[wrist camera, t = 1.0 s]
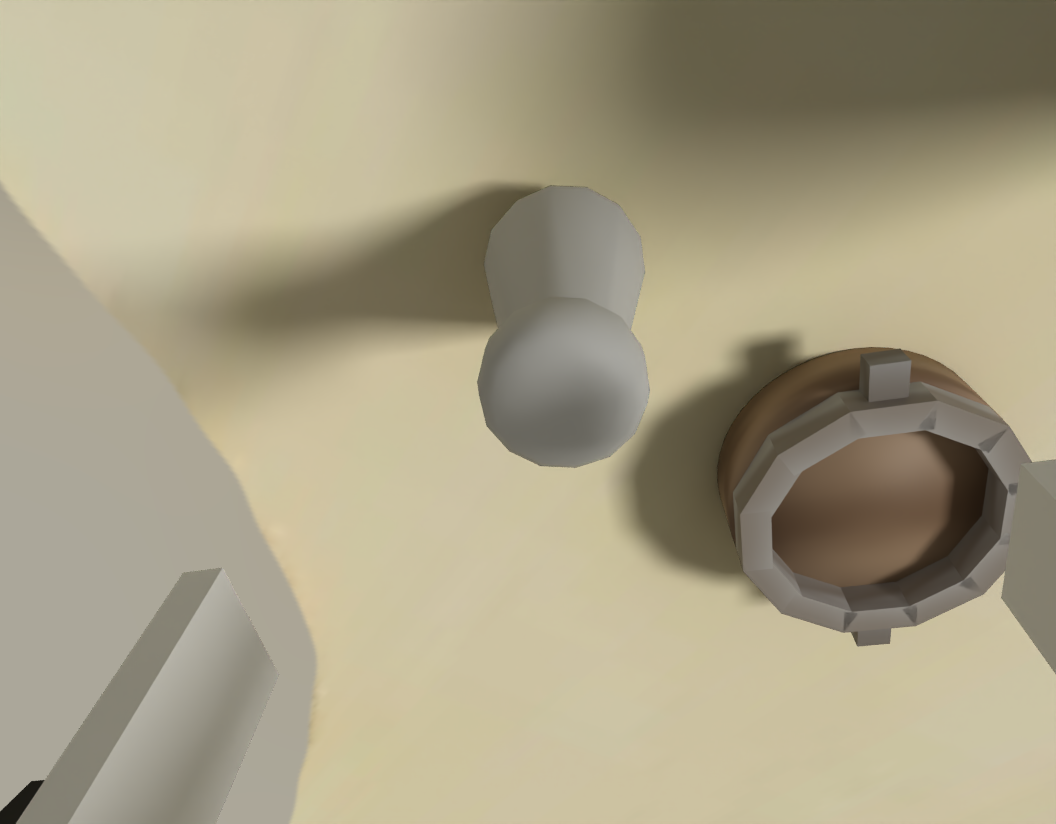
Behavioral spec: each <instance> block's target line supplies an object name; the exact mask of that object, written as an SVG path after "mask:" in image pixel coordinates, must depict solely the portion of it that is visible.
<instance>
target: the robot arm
mask: <svg viewBox="0 0 1056 824" xmlns="http://www.w3.org/2000/svg"><path fill="white" fill-rule="evenodd" d="M1001 598H1002V600H1003V601H1004V602H1005V604H1006V605H1007V607H1008V608H1009V609H1010V611H1011V612H1012V614H1013V615H1014V616H1015V618H1016V619H1017V621H1018V622H1019V623H1020V625H1021V626H1022V628H1023V629H1024V630H1025V632H1026V633H1027V634H1028V636H1029V637H1030V639H1031V640H1032V641H1033V643H1034V644H1035V646H1036V647H1037V648H1038V650H1039V651H1040V653H1041V654H1042V655H1043V657H1044V658H1045V660H1046V661H1047V662H1048V664H1049V665H1050V667H1051V668H1052V669H1053V671H1054V672H1055V674H1056V459H1055V460H1047V461H1039V462H1032V463H1024V464H1021V468H1020V475H1019V481H1018V488H1017V495H1016V502H1015V508H1014V515H1013V522H1012V529H1011V536H1010V542H1009V549H1008V556H1007V563H1006V569H1005V576H1004V583H1003V590H1002V596H1001ZM278 676H279V673H278V671H277V670H276V668H275V666H274V664H273V662H272V660H271V659H270V656H269V654H268V653H267V651H266V649H265V647H264V645H263V643H262V641H261V639H260V637H259V635H258V633H257V632H256V630H255V628H254V626H253V624H252V622H251V620H250V618H249V616H248V615H247V613H246V611H245V609H244V607H243V605H242V603H241V601H240V599H239V598H238V596H237V594H236V592H235V590H234V588H233V586H232V584H231V583H230V580H229V578H228V577H227V575H226V573H225V571H224V569H223V568H216V569H209V570H201V571H194V572H186V573H183V574H182V575H181V577H180V578H179V580H178V581H177V583H176V584H175V586H174V588H173V589H172V590H171V592H170V594H169V595H168V596H167V598H166V599H165V601H164V603H163V604H162V606H161V607H160V608H159V610H158V611H157V613H156V614H155V616H154V618H153V619H152V620H151V622H150V623H149V625H148V626H147V628H146V629H145V631H144V633H143V634H142V635H141V637H140V639H139V640H138V641H137V643H136V644H135V646H134V647H133V649H132V650H131V652H130V653H129V655H128V656H127V658H126V659H125V661H124V662H123V664H122V665H121V667H120V669H119V670H118V672H117V673H116V674H115V676H114V677H113V679H112V680H111V682H110V683H109V685H108V686H107V688H106V689H105V691H104V692H103V694H102V695H101V697H100V699H99V700H98V701H97V703H96V704H95V706H94V707H93V709H92V710H91V712H90V713H89V715H88V716H87V718H86V719H85V721H84V722H83V724H82V725H81V727H80V728H79V730H78V731H77V733H76V734H75V736H74V737H73V739H72V740H71V742H70V743H69V745H68V746H67V748H66V749H65V751H64V752H63V754H62V755H61V757H60V758H59V760H58V761H57V763H56V764H55V766H54V767H53V769H52V770H51V772H50V773H49V775H48V776H47V778H46V779H45V780H40V781H31V782H30V783H29V784H28V785H27V786H26V787H25V788H24V789H23V790H22V791H21V792H20V793H19V794H18V795H17V796H16V797H15V798H14V799H13V800H12V801H11V802H10V803H9V804H8V805H7V806H5V807H4V808H3V810H1V811H0V824H216V822H217V819H218V817H219V815H220V812H221V810H222V808H223V805H224V803H225V801H226V798H227V796H228V793H229V791H230V789H231V787H232V784H233V782H234V780H235V777H236V775H237V772H238V770H239V768H240V765H241V763H242V761H243V759H244V756H245V754H246V751H247V749H248V746H249V744H250V742H251V740H252V737H253V735H254V732H255V730H256V728H257V725H258V723H259V721H260V719H261V716H262V714H263V711H264V709H265V707H266V705H267V702H268V700H269V698H270V695H271V693H272V691H273V688H274V686H275V684H276V681H277V679H278Z"/></svg>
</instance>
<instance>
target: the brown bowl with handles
mask: <svg viewBox="0 0 1056 824" xmlns="http://www.w3.org/2000/svg"><path fill="white" fill-rule="evenodd" d="M1024 463H1032V461H1031V460H1030V458H1029V456H1028V455H1027V453H1026V452H1025V450H1024V449H1023V447H1022V445H1021V444H1020V442H1019V441H1018V439H1017V437H1016V436H1015V434H1014V433H1013V431H1012V429H1011V428H1010V426H1009V425H1008V424H1007V423H1006V422H1004V420H1003V419H1002V418H1001V417H1000V416H999V415H998V414H997V413H996V412H995V411H994V410H993V409H992V408H991V407H990V406H989V405H988V404H987V403H986V402H985V401H984V400H983V399H982V398H981V397H980V396H979V395H978V394H977V393H976V392H975V391H974V390H973V389H972V388H971V387H970V386H969V385H968V384H967V383H966V382H964V381H963V380H962V379H961V378H960V377H959V376H958V375H957V374H956V373H955V372H954V371H952V370H950V369H949V368H947V367H946V366H944V365H943V364H941V363H940V362H937V361H935V360H933V359H931V358H929V357H926V356H924V355H920V354H917V353H914V352H910V351H906V350H901V349H893V348H872V347H871V348H859V349H850V350H845V351H840V352H835V353H831V354H828V355H824V356H821V357H818V358H815V359H812V360H810V361H808V362H805V363H803V364H801V365H799V366H796V367H795V368H793V369H791V370H789V371H787V372H786V373H784V374H782V375H780V376H779V377H778V378H776V379H775V380H773V381H772V382H771V383H769V384H768V385H766V386H765V387H764V388H763V389H762V390H761V391H760V392H758V393H757V394H756V395H755V396H754V397H753V398H752V399H751V400H750V401H749V402H748V404H747V405H746V406H745V407H744V408H743V409H742V410H741V412H740V413H739V415H738V416H737V418H736V419H735V421H734V422H733V424H732V425H731V427H730V429H729V431H728V433H727V435H726V437H725V439H724V442H723V445H722V448H721V451H720V456H719V462H718V472H717V481H718V488H719V494H720V497H721V501H722V504H723V507H724V511H725V514H726V517H727V521H728V524H729V527H730V531H731V534H732V537H733V540H734V543H735V546H736V549H737V552H738V556H739V559H740V562H741V566H742V569H743V572H744V573H745V574H746V575H747V576H748V577H749V578H750V580H751V581H752V582H753V583H754V584H755V585H756V586H757V587H758V588H759V589H760V590H761V592H762V593H763V594H764V595H765V596H766V597H767V598H768V599H769V600H770V601H771V603H772V604H773V605H774V606H775V607H776V608H777V609H778V610H779V611H780V612H781V614H785V615H788V616H791V617H794V618H798V619H801V620H804V621H807V622H811V623H814V624H817V625H820V626H823V627H827V628H830V629H833V630H836V631H840V632H843V633H845V632H851V633H852V635H853V638H854V640H855V642H856V644H857V646H868V645H879V644H890V636H891V628H900V627H910V626H917V625H919V624H921V623H923V622H925V621H927V620H930V619H932V618H934V617H936V616H938V615H940V614H942V613H945V612H947V611H949V610H951V609H953V608H955V607H957V606H959V605H962V604H964V603H966V602H968V601H970V600H972V599H974V598H977V597H979V596H981V595H983V594H984V593H985V592H986V591H987V590H988V589H989V588H990V587H991V586H992V585H993V583H994V582H995V581H996V580H997V579H998V578H999V577H1000V576H1001V575H1002V574H1003V573H1004V571H1005V569H1006V563H1007V556H1008V549H1009V542H1010V536H1011V529H1012V522H1013V515H1014V508H1015V502H1016V495H1017V488H1018V481H1019V475H1020V468H1021V464H1024Z"/></svg>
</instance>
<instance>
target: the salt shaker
mask: <svg viewBox="0 0 1056 824" xmlns="http://www.w3.org/2000/svg"><path fill="white" fill-rule="evenodd" d="M484 267H485V272H486V277H487V282H488V287H489V291H490V296H491V301H492V305H493V309H494V313H495V317H496V322H497V326H498V329H497V330H496V331H495V332H494V334H493V335H492V336H491V337H490V338H489V340H488V343H487V345H486V348H485V352H484V356H483V360H482V364H481V368H480V373H479V377H478V381H477V384H478V391H479V396H480V401H481V405H482V409H483V413H484V417H485V421H486V425H487V427H488V428H489V429H490V430H491V431H492V432H493V434H494V435H495V436H496V437H497V438H498V439H499V440H500V441H501V442H502V444H503V445H504V446H505V447H506V448H507V449H508V450H509V451H510V452H512V453H514V454H516V455H519V456H521V457H523V458H525V459H527V460H529V461H531V462H533V463H535V464H537V465H540V466H551V467H574V468H577V467H580V466H583V465H586V464H589V463H592V462H595V461H598V460H601V459H604V458H607V457H610V456H611V455H612V454H613V453H614V452H616V451H617V450H618V449H619V448H620V447H621V446H622V445H623V444H624V443H625V442H626V441H628V440H629V439H630V438H631V437H632V436H633V435H634V434H635V433H636V430H637V428H638V425H639V423H640V420H641V418H642V415H643V413H644V411H645V408H646V406H647V403H648V398H649V392H650V388H649V381H648V374H647V367H646V360H645V355H644V352H643V349H642V346H641V344H640V343H639V341H638V340H637V339H636V337H635V336H634V334H633V333H632V331H631V327H632V323H633V319H634V315H635V311H636V307H637V303H638V299H639V295H640V290H641V286H642V282H643V278H644V274H645V267H644V260H643V252H642V244H641V236H640V235H639V234H638V232H637V231H636V229H635V228H634V226H633V225H632V223H631V222H630V220H629V219H628V217H627V216H626V214H625V213H624V211H623V210H622V208H621V207H620V206H619V205H618V204H617V203H615V202H613V201H611V200H609V199H608V198H606V197H604V196H602V195H600V194H598V193H597V192H595V191H593V190H591V189H589V188H588V187H574V186H552V185H550V186H548V187H546V188H544V189H541V190H539V191H537V192H535V193H532V194H530V195H528V196H526V197H523V198H521V199H519V200H517V201H516V202H515V203H514V204H513V205H512V207H511V208H510V209H509V210H508V211H507V212H506V214H505V215H504V216H503V217H502V218H501V219H500V221H499V222H498V223H497V224H496V225H495V226H494V228H493V229H492V230H491V234H490V238H489V243H488V247H487V252H486V257H485V261H484Z"/></svg>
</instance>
